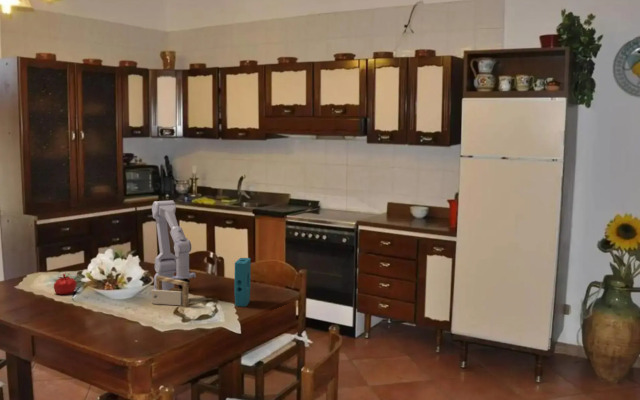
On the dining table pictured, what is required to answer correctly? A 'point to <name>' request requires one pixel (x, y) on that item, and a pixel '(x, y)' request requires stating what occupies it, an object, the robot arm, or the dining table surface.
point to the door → (167, 297)
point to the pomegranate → (65, 285)
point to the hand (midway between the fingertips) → (182, 295)
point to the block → (242, 281)
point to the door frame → (174, 281)
